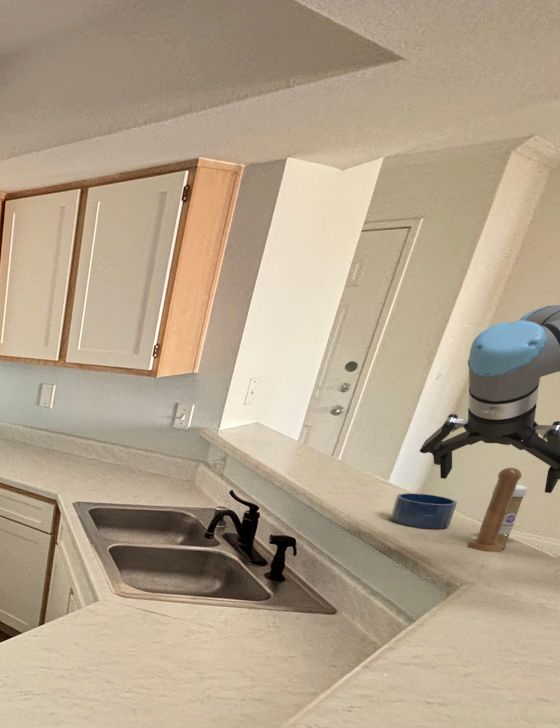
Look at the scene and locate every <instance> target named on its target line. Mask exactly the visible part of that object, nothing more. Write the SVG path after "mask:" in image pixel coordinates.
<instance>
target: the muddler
mask: <svg viewBox="0 0 560 728" xmlns="http://www.w3.org/2000/svg"><path fill="white" fill-rule="evenodd" d="M497 478H498V479H497V482H496V484H495V485H496V487H495V490H494V493H493V492H492V493H493V495H492V496H491V498H492V499H491V498H490V501H491V502H490V501H489V503H488V506H489V507H488V506H487V508H488V510H487V509H486V511H487V513H486V512H485V514H486V516H485V515H484V516H485V519H484V518H483V519H484V522H483V521H482V522H483V524H482V523H481V525H482V527H481V526H480V528H481V530H480V529H479V532H480V533H478V535H479V536H478V535H477V538H478V539H477V538H469V540H468V541H467V544H466V548H470V549H473V550H477V551H481V552H487V553H488V552H489V553H501V552H502V550H503V549H502V547H503V545H502V544H501V543H498V542H496V540H497V538H498V535H499V532H500V529H501V527H502V524H503V521H504V518H505V515H506V513H507V510H508V507H509V504H510V502H511V499H512V496H513V493H514V491H515V488H516V485H518V482H519V480H521V478H522V472H521V470H519V469H518V468H515V467H507V468H503V469H502V470H500V471H499V472H498V474H497Z"/></svg>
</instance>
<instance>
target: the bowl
mask: <svg viewBox="0 0 560 728" xmlns="http://www.w3.org/2000/svg"><path fill="white" fill-rule="evenodd" d="M457 504H458V501H456V500H455V499H452V498H449V497H445V496H441V495H434V494H426V493H416V492H415V493H413V492H412V493H411V492H409V493H399V494H397V496H396V498H395V502H394V504H393V508H392V511H391V515H390V518H391V519H392V521H393V522H395V523H397V524H399V525H403V526H406V527H412V528H418V529H426V530H427V529H428V530H440V529H441V530H442V529H445V528H447V527H450V526H451V522H452V519H453V515H454V513H455V510H456V507H457Z"/></svg>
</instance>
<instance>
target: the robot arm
mask: <svg viewBox="0 0 560 728" xmlns="http://www.w3.org/2000/svg"><path fill="white" fill-rule="evenodd" d="M467 366H468V384H469V385H468V408H467V419H463V418H458V417H459V416H458V415H457V414H455V413H450V414H448V416H447V417H446V419H445V421H444V423H443V424H442V425H441V426H440V427H439V428H438V429H437V430H436V431H434V432H433V433H432V434H431V435H430V436H429V437H427V438H426V440H425V441H424V442H423V444H422V445H421V447H420V449H419V453H421V454H428V453H429V454H431V455H432V456H433V457H432V458H433V464H434V465H436V466H439V470H440V471H439V472H440V473H439V475H440V479H443V480H446V479H447V478H448V476H449V474H450V473H451V471H452V469H453V452H454V451H456V450H459V449H461V448H463V447H465V446H472V445H474V444H477V443H479V442H483V443H484V444H498V445H503V446H510V445H511V446H513V447H514V448H516V449H518V450H519V451H526V452H527V453H528V454H530V455H531V456H533V457H535V458H536V459H539V460H540V461H541V462H543V463H545V464H546V465H547V466H549V468H548V470H547V475H546V481H545V488H544V493H548V494H552V492H553V490H554V489H555V487H556V485H557V483H558V481H559V480H560V420H557V421H553V423H551V425H550V424H549V425H548V424H538V422H537V421H536V413H537V405H538V404H537V402H538V398H539V385H540V381H541V378H543V377H546V376H548V375H549V376H550V375H552V374H556V373H558V372H560V304H558V305H557V304H555V305H546V306H543V307H540V308H536V309H534V310H531V311H529V312H527V313H526V314H524V315H523V316H521V317H520V318H519V319H518V320H515V321H512V322H508V321H503V322H500V323H497V324H494V325H492V326H489V327H488V328H486V329H483V331H481V332H480V333H479V334H477V336H475V338H474V339H473V340H472V343H471V345H470V350H469V357H468V360H467ZM461 428H464V430H465V431H463V432H460V433H458V434H456V435H454V436H451V437H450V438H447V437H448V436H449V435H450V434H451V433H454V432H455V431H457V430H459V429H461ZM539 435H541V437H540V436H539ZM446 438H447V439H446ZM444 439H446V440H444Z"/></svg>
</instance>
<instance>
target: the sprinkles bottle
mask: <svg viewBox="0 0 560 728" xmlns="http://www.w3.org/2000/svg"><path fill="white" fill-rule="evenodd" d="M495 487H496V484H494V487H493V489H492V493H491V494H492V496H493V493H494V490H495ZM527 491H528V487H527V486H525V485H521V484H517V485H516V488H515V491H514V493H513V496H512V499H511V502H510V504H509V507H508V510H507V513H506V515H505V518H504V521H503V524H502V527H501V529H500V532H499V535H498V538H497V540H496V542H498V543H501V544H502V545H503V547H502V550H504V549H506V547H507V542H508V540H509V536H510V534H511V533H512V530H513V528H514V526H515V525H514V524H515V523H516V519H517V515H518V513H519V510H520V507H521V505H522V501H523V499H524V497H525V496H526V494H527ZM491 499H492V497H491V498H490V501H489V503H490V502H491ZM488 507H489V505H488V506H487V508H486V511H485V514H484V516H483V519H482V523H481V526H480V528H479V533H480V530H481V527H482V524H483V522H484V519H485V516H486V513H487V510H488ZM479 533H478V535H477V538H476V539H478V536H479ZM504 534H505V535H507V536H505V535H504Z"/></svg>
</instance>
